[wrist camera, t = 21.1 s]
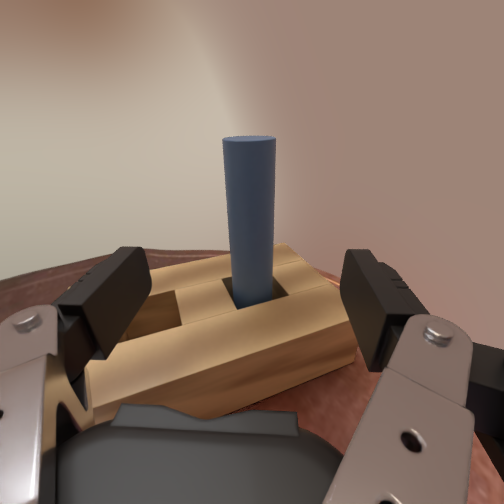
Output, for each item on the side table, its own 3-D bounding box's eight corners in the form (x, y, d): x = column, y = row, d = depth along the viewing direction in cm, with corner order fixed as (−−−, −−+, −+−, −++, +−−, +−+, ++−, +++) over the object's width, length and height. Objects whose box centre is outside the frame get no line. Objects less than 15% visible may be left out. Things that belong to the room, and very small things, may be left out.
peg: (262, 315, 25) (262, 134, 17) (277, 338, 22) (285, 138, 14) (231, 324, 24) (216, 137, 16) (242, 350, 21) (231, 141, 13)
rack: (88, 330, 23) (68, 286, 21) (282, 280, 30) (284, 242, 27) (53, 486, 14) (8, 437, 11) (354, 362, 20) (366, 313, 18)
